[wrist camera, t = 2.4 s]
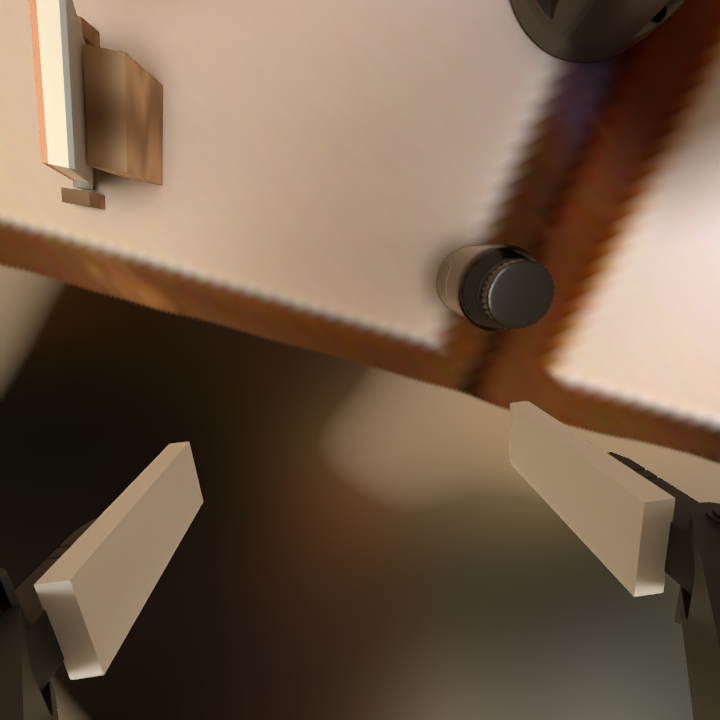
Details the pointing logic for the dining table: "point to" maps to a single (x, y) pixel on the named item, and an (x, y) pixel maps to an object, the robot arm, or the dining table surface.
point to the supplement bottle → (495, 286)
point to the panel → (60, 89)
